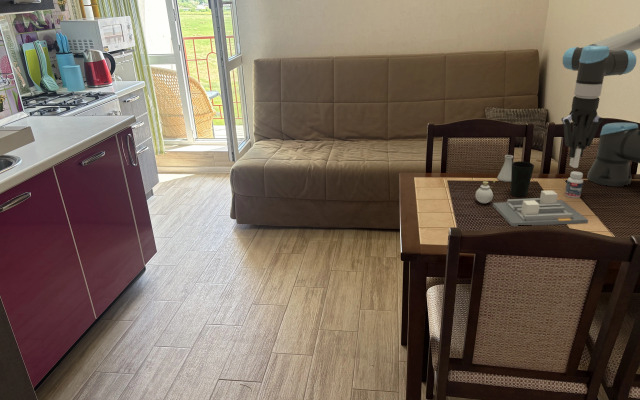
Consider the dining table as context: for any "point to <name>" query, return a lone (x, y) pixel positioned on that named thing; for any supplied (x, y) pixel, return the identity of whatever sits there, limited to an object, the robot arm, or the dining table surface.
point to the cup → (521, 178)
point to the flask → (506, 169)
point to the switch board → (539, 213)
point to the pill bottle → (574, 185)
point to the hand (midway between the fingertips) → (573, 166)
